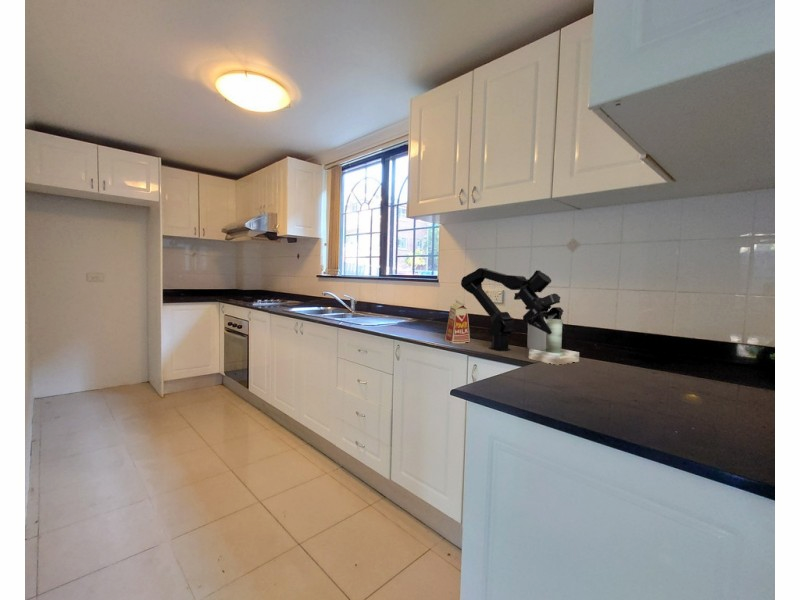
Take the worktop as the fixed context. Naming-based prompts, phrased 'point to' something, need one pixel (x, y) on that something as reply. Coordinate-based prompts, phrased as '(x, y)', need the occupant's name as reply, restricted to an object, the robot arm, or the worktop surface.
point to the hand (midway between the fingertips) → (557, 332)
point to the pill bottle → (536, 338)
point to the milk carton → (458, 324)
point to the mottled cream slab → (554, 356)
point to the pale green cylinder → (554, 337)
